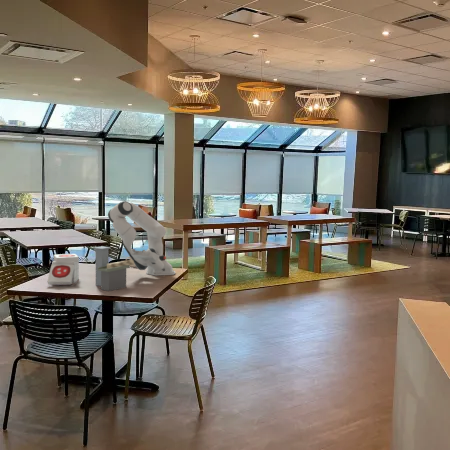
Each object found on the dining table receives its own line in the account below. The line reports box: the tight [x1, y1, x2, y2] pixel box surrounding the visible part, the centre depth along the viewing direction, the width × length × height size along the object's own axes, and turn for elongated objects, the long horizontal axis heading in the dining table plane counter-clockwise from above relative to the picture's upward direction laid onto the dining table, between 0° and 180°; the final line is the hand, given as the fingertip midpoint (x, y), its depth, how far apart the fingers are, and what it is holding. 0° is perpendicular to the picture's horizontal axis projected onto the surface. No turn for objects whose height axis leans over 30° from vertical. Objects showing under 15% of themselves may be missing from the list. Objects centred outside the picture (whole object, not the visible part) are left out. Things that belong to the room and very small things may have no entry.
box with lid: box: [98, 265, 131, 292], centre depth 334 cm, size 20×9×15 cm, turn 146°
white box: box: [47, 253, 80, 286], centre depth 347 cm, size 19×30×18 cm, turn 5°
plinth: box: [93, 245, 111, 287], centre depth 342 cm, size 8×8×26 cm
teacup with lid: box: [125, 256, 137, 268], centre depth 417 cm, size 12×9×12 cm
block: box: [107, 259, 134, 269], centre depth 338 cm, size 22×3×3 cm, turn 146°
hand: (137, 250), depth 351 cm, fingers open, 8 cm apart
